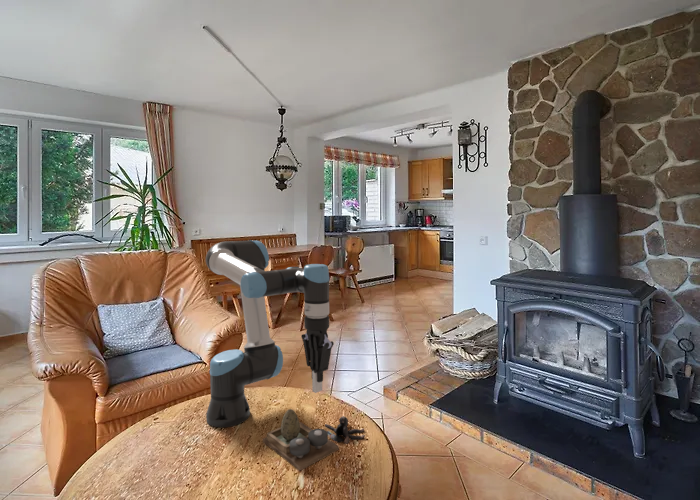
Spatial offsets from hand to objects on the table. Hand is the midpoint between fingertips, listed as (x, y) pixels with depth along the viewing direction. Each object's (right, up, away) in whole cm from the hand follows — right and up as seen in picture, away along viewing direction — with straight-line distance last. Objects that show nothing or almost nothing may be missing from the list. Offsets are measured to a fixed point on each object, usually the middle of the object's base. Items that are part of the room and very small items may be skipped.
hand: (317, 390), depth 121 cm
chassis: (-6, -19, +4) cm, 20 cm away
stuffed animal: (+8, -19, +11) cm, 23 cm away
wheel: (0, -16, +1) cm, 16 cm away
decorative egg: (-9, -18, +5) cm, 21 cm away
